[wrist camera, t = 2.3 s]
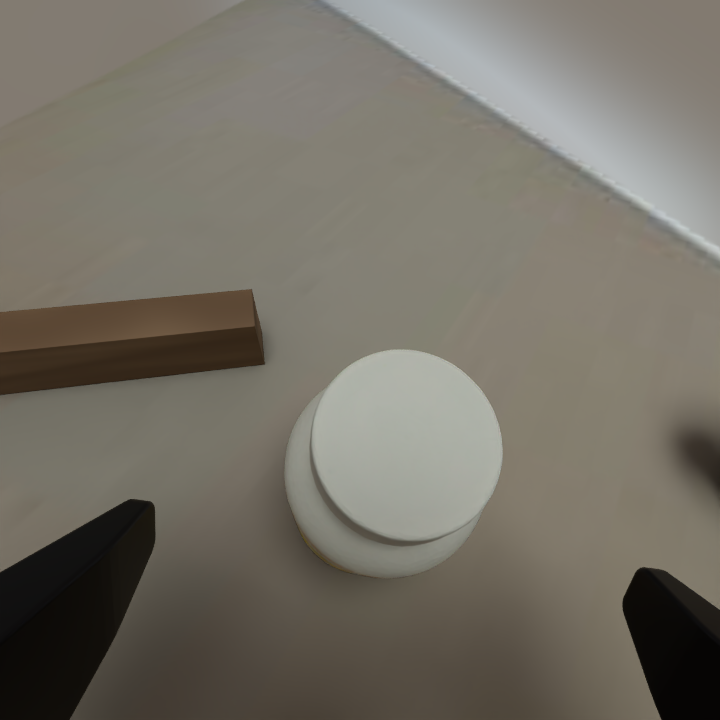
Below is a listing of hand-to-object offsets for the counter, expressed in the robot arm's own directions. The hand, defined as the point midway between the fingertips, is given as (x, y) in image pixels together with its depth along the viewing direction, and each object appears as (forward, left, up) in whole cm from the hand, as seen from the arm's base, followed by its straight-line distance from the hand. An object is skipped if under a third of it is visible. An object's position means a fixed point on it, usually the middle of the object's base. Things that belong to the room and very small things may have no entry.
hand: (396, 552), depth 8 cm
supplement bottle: (+2, +1, -10) cm, 10 cm away
